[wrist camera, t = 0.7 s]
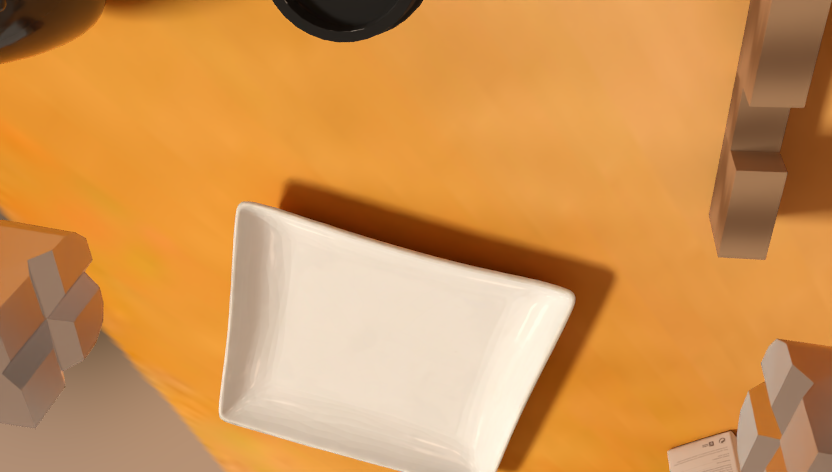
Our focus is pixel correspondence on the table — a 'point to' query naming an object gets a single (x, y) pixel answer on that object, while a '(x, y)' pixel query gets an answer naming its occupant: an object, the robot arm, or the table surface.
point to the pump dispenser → (43, 25)
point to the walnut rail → (763, 121)
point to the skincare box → (706, 455)
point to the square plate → (380, 345)
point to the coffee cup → (346, 17)
